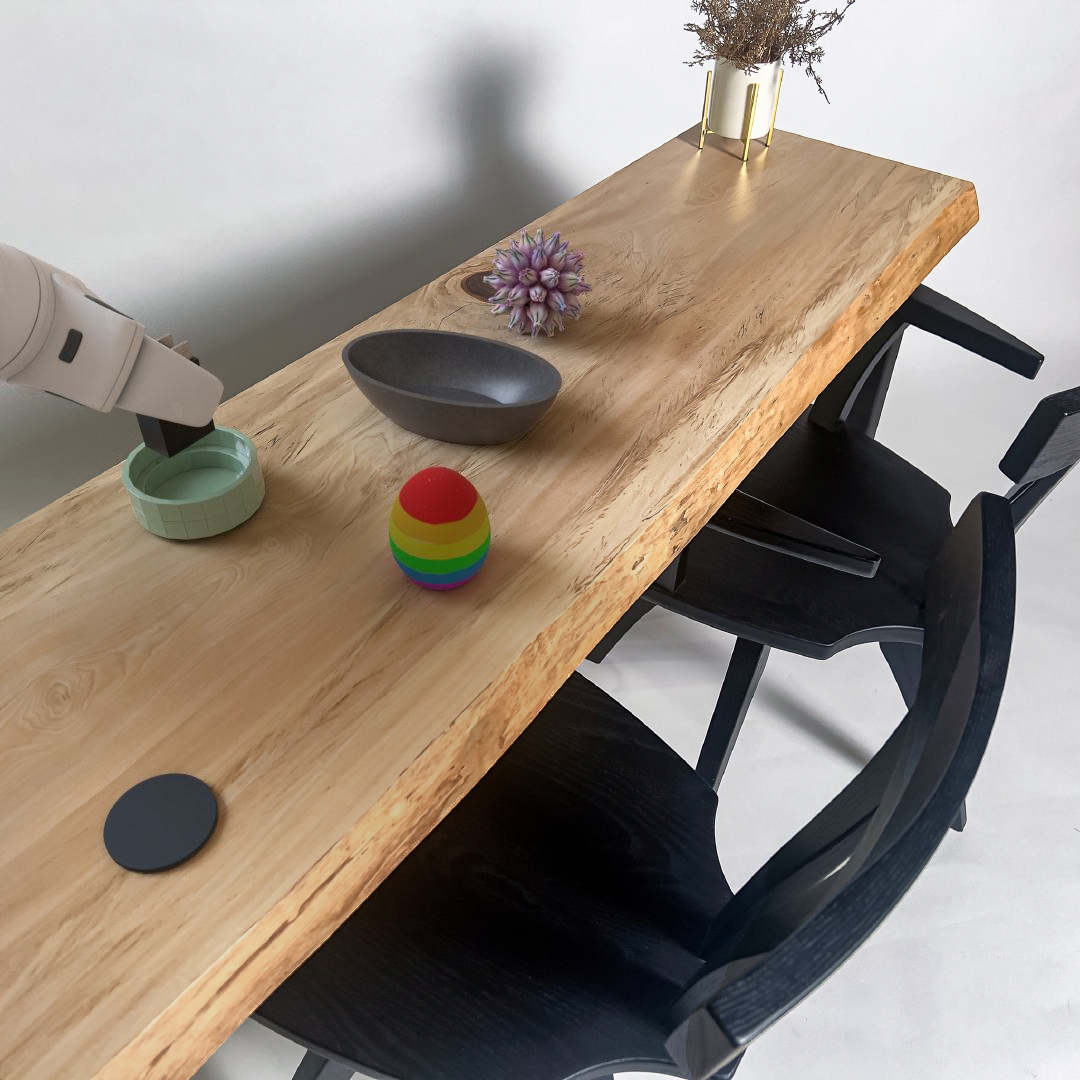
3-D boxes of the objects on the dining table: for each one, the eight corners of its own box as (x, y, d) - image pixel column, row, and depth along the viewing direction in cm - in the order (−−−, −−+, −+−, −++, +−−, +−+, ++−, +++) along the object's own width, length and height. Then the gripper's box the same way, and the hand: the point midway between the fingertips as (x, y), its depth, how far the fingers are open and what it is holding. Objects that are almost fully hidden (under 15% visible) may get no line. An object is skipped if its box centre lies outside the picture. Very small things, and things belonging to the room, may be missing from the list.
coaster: (146, 895, 59) (144, 891, 59) (83, 828, 62) (81, 824, 62) (240, 818, 63) (239, 813, 63) (176, 759, 66) (174, 754, 66)
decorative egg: (372, 569, 80) (359, 474, 74) (443, 521, 85) (437, 428, 78) (440, 618, 76) (434, 522, 70) (511, 566, 81) (511, 471, 74)
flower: (585, 322, 114) (590, 356, 104) (483, 316, 114) (478, 350, 103) (593, 221, 108) (600, 247, 98) (486, 215, 108) (482, 240, 98)
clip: (170, 459, 79) (143, 368, 73) (145, 446, 80) (117, 356, 75) (216, 430, 82) (194, 340, 77) (191, 418, 84) (168, 329, 78)
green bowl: (185, 563, 80) (173, 522, 77) (110, 506, 86) (95, 466, 83) (292, 498, 87) (284, 458, 84) (215, 448, 92) (205, 409, 89)
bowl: (538, 478, 90) (539, 423, 85) (325, 430, 95) (316, 376, 90) (576, 408, 98) (579, 355, 94) (379, 368, 103) (373, 315, 99)
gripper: (-81, 324, 70) (74, 379, 83) (109, 417, 62) (248, 462, 75) (-47, 243, 70) (103, 311, 82) (147, 326, 62) (280, 387, 74)
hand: (173, 384), depth 78 cm, fingers closed on clip, 3 cm apart
